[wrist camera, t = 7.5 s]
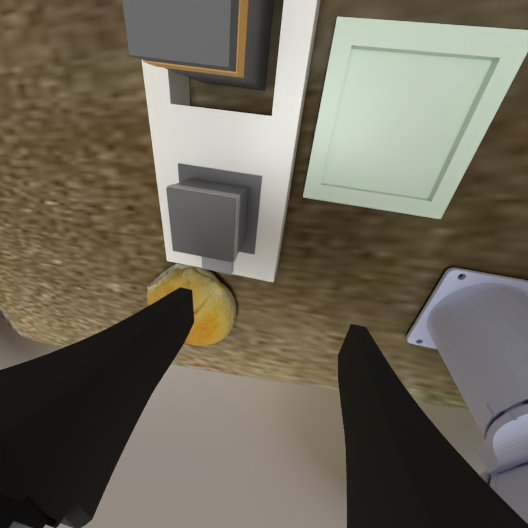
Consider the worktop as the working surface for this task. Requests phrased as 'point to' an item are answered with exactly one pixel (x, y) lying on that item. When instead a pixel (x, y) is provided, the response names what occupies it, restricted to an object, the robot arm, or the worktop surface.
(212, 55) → the plug
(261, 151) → the strip
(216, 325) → the bread roll
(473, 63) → the tray
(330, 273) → the worktop surface
